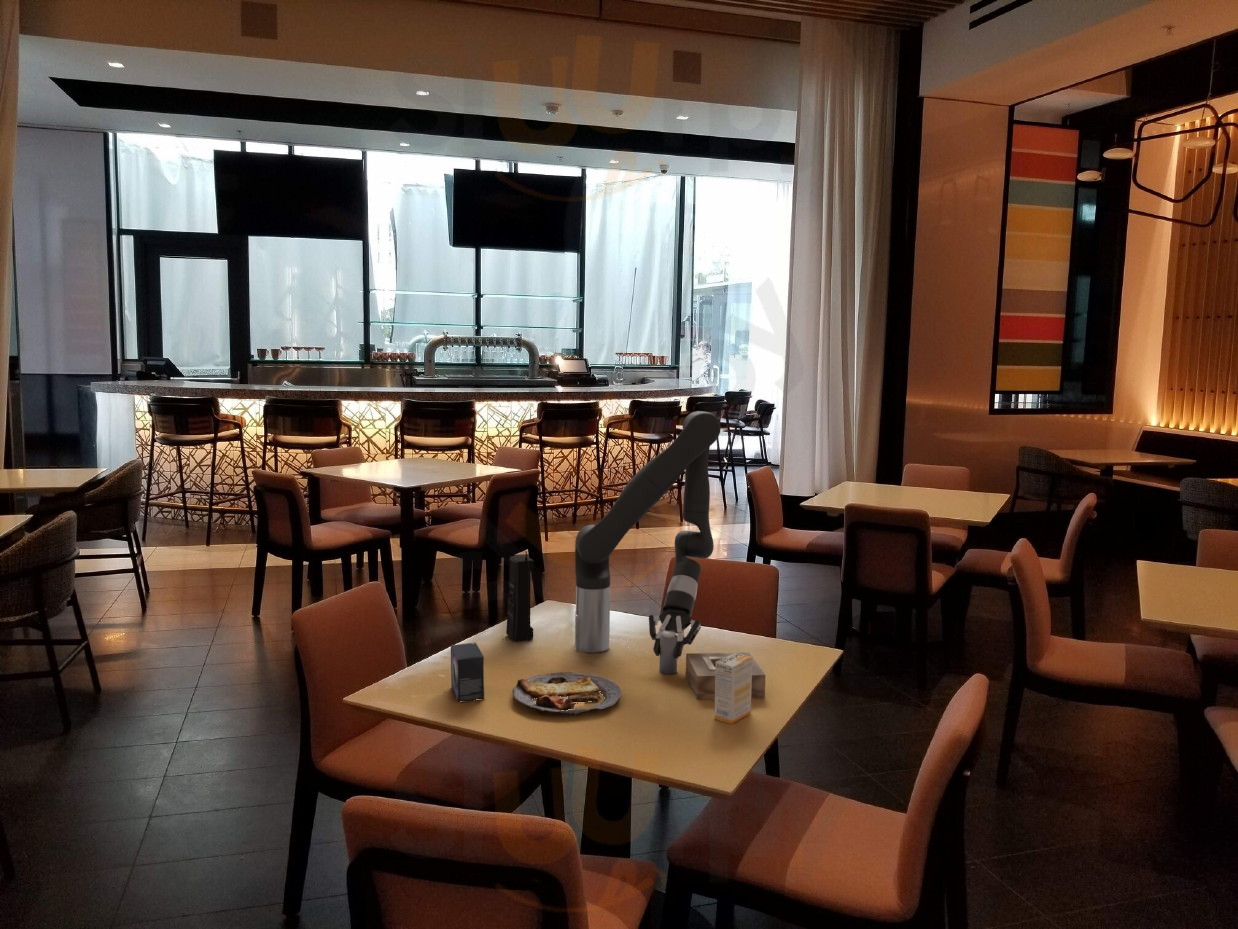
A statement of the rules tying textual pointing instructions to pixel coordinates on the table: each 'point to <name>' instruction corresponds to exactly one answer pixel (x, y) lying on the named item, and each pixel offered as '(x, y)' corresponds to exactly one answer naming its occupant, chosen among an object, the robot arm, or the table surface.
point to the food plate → (565, 691)
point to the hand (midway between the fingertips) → (666, 655)
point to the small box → (467, 672)
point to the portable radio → (519, 598)
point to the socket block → (703, 674)
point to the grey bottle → (668, 652)
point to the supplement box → (733, 687)
